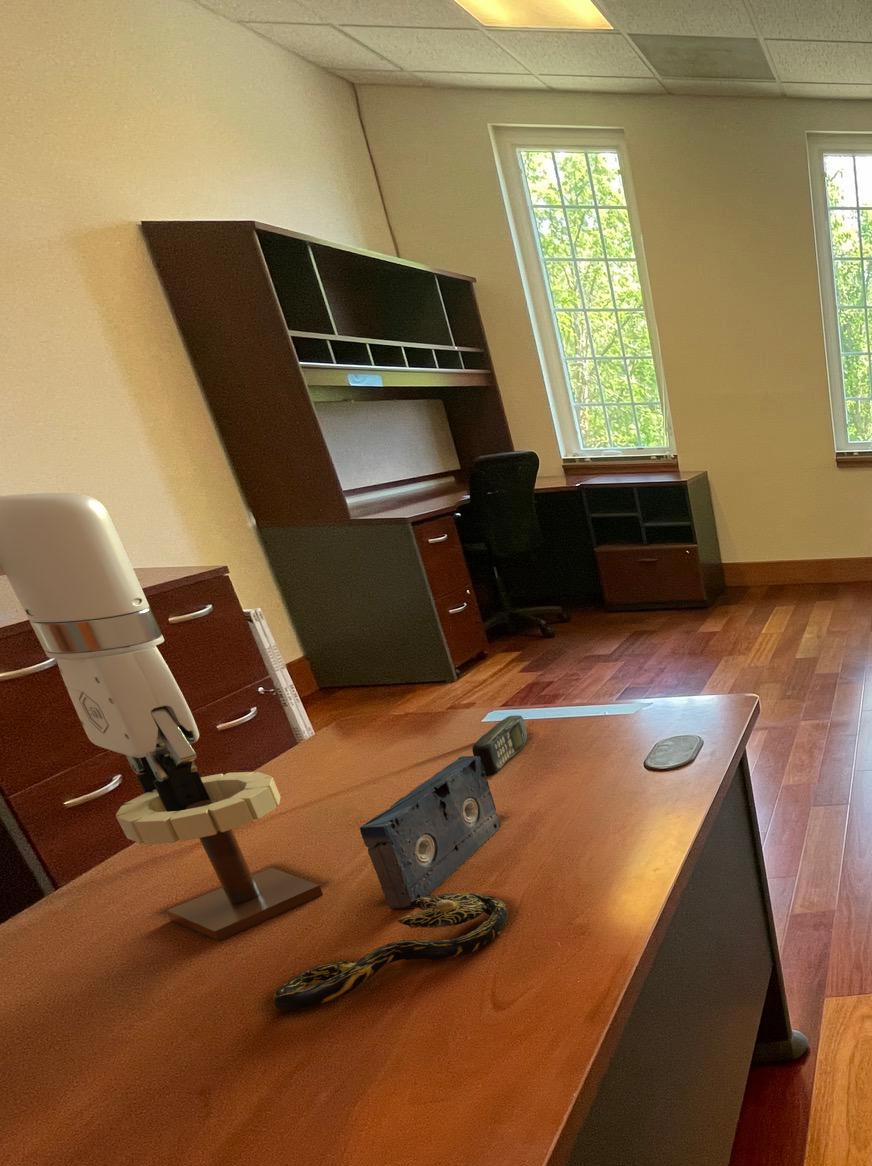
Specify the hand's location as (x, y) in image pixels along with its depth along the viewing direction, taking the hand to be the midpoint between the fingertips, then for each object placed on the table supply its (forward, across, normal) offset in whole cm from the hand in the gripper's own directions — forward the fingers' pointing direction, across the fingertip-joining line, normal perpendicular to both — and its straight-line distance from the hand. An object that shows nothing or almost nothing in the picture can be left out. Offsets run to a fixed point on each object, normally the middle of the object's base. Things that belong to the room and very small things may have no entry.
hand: (182, 806), depth 80 cm
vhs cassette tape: (+11, +16, +14) cm, 24 cm away
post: (+11, +4, 0) cm, 12 cm away
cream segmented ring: (0, +4, 0) cm, 4 cm away
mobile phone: (+11, -8, +38) cm, 40 cm away
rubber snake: (+11, +28, +1) cm, 31 cm away
